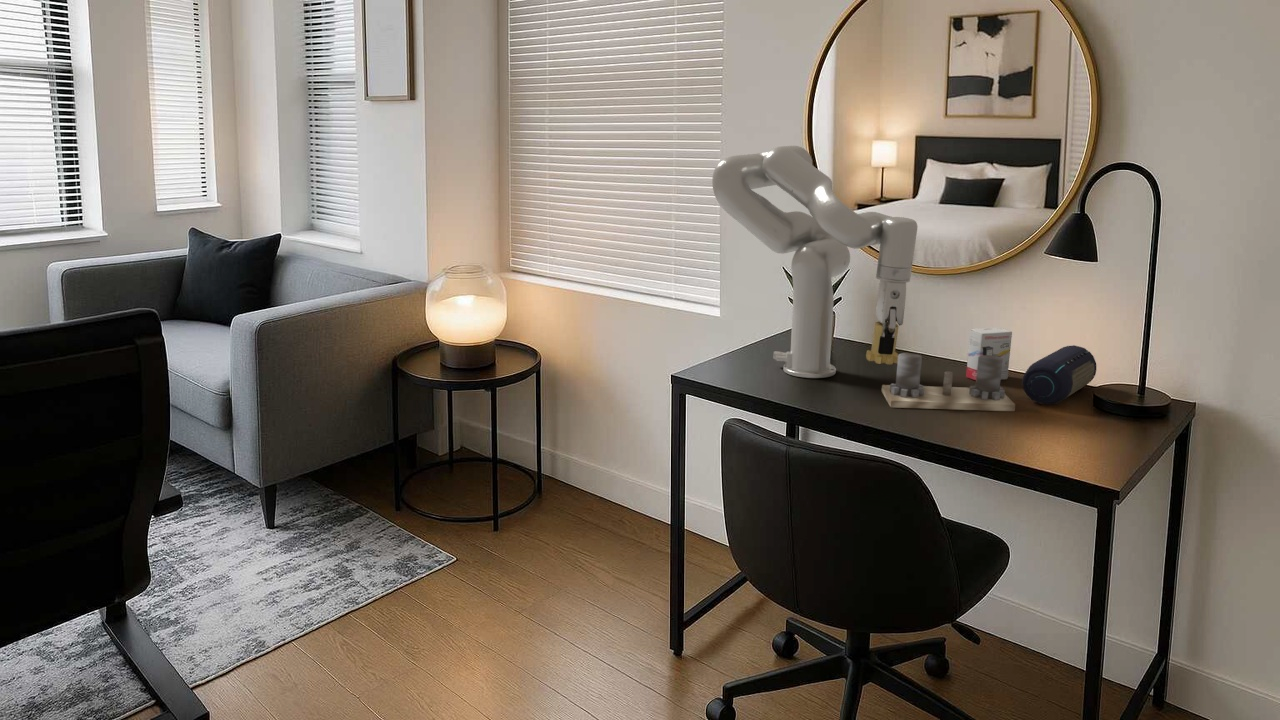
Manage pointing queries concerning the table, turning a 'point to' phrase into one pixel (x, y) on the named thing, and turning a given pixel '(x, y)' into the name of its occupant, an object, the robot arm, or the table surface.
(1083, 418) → the table surface
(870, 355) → the gear
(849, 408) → the table surface
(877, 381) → the table surface
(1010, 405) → the board
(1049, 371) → the portable speaker
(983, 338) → the ink box
